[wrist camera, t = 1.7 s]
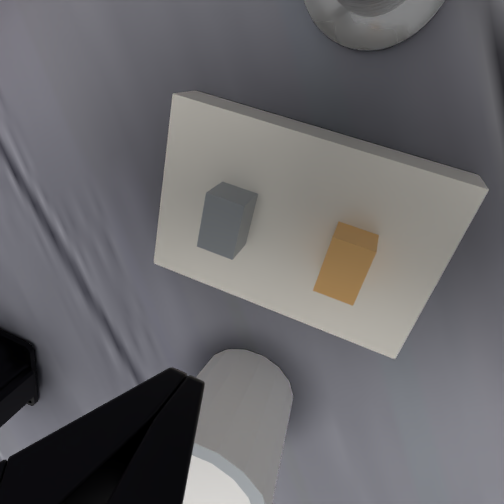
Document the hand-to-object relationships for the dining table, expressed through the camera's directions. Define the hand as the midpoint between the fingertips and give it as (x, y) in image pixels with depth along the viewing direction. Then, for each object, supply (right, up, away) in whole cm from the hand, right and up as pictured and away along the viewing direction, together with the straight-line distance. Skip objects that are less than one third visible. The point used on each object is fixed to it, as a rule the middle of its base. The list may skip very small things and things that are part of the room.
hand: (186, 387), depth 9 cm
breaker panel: (+4, +5, +9) cm, 11 cm away
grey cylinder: (+1, -5, +15) cm, 16 cm away
